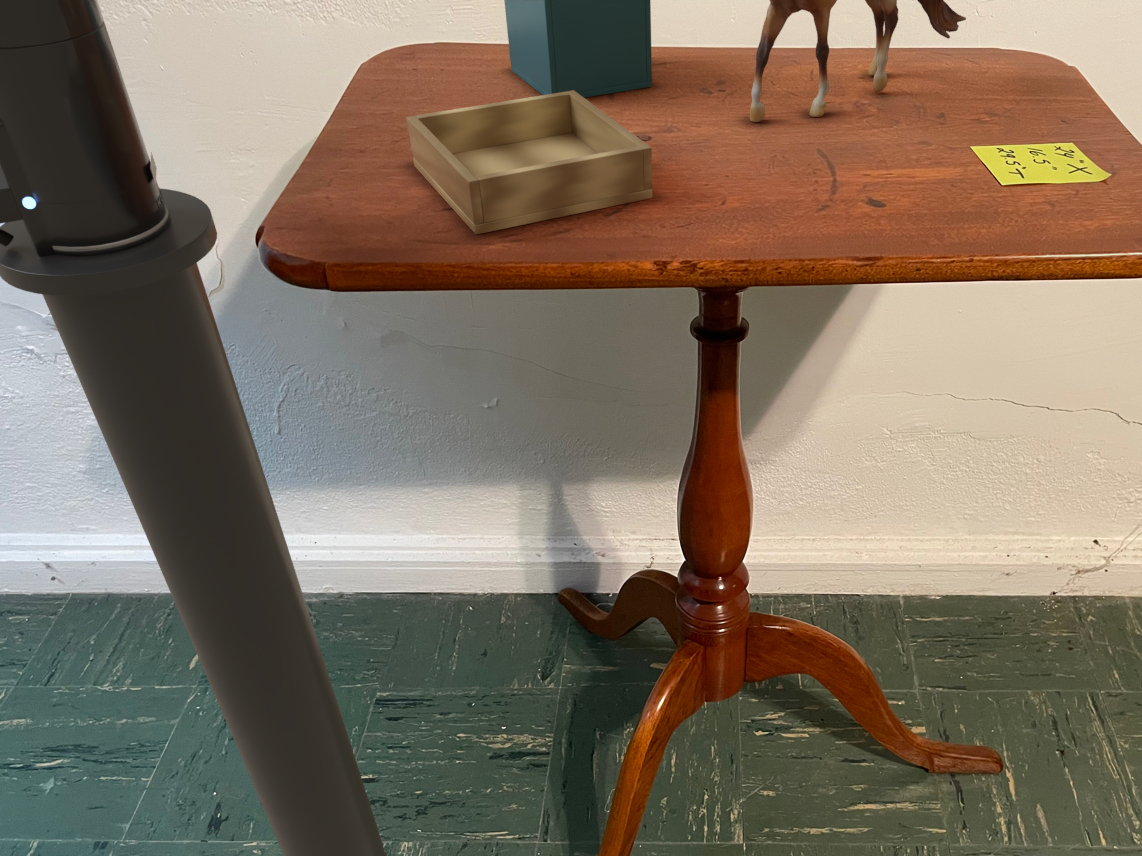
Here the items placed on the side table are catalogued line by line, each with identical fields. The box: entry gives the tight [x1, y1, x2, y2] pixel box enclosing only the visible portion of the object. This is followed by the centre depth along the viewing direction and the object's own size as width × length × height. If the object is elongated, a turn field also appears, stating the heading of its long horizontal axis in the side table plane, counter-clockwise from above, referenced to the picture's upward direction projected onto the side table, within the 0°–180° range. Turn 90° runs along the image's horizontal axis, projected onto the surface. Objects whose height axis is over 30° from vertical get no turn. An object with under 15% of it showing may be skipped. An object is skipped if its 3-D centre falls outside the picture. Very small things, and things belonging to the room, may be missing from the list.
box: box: [405, 90, 653, 235], centre depth 91 cm, size 16×16×4 cm
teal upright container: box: [504, 0, 653, 99], centre depth 110 cm, size 11×11×11 cm
